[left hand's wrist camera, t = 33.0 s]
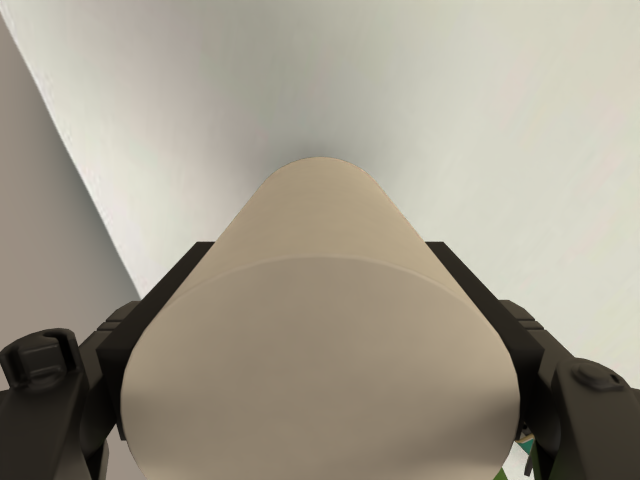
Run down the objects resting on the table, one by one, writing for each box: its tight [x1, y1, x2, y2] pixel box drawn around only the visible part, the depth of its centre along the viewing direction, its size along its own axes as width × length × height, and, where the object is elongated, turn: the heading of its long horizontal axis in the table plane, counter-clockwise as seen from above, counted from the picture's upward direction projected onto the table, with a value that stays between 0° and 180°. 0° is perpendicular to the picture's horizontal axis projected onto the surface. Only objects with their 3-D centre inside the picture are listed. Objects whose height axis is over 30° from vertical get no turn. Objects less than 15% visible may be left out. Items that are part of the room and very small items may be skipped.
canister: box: [120, 157, 520, 480], centre depth 13 cm, size 8×8×13 cm
